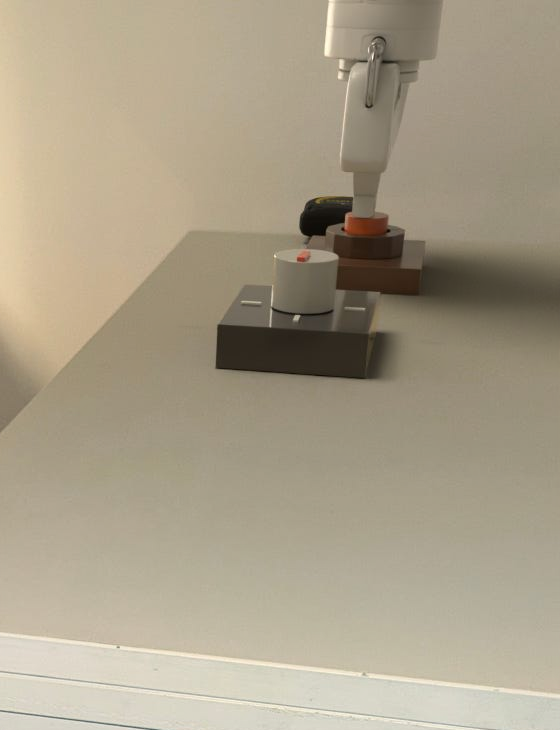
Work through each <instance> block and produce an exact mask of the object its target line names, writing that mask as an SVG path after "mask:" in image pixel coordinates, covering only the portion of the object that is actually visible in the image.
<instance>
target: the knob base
mask: <svg viewBox="0 0 560 730" xmlns="http://www.w3.org/2000/svg"><path fill="white" fill-rule="evenodd" d="M271 296H272V285H262V284H261V285H260V284H244V285H243V286H242V288H240V291H239V292H238V294H237V295H236V297H234V299H233V301H232V302H231V304H230V305H229V307H228V308H227V310H226V311H225V313H224V314H223V315H222V317H221V319H220V320H219V321H218V323H217V325H216V346H215V368H216V369H229V370H240V371H241V370H243V371H254V372H255V371H256V372H257V371H258V372H269V373H270V372H272V373H283V374H284V373H285V374H286V373H287V374H297V375H298V374H299V375H313V376H327V377H339V378H341V377H342V378H355V379H356V378H357V379H366V375H367V371H368V367H369V363H370V359H371V355H372V351H373V348H374V343H375V339H376V336H377V331H378V322H379V313H380V312H379V311H380V304H381V303H380V302H381V294H380V292H369V291H352V290H336V297H335V307H334V309H333V310H331V311H328V312H324V313H318V314H295V313H288V312H283V311H279V310H276V309H274V308H273V307H272V306H271Z"/></svg>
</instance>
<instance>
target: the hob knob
mask: <svg viewBox="0 0 560 730" xmlns="http://www.w3.org/2000/svg"><path fill="white" fill-rule="evenodd" d="M338 263H339V256H338V255H337V254H335V253H332V252H328V251H323V250H314V249H305V248H294V249H285V250H280V251H277V252H275V253H274V255H273V268H272V280H271V281H272V282H271V283H272V284H271V286H272V296H271V306H272V307H273V308H274V309H276V310H279V311H283V312H288V313H295V314H318V313H324V312H328V311H331V310H333V309H334V307H335V297H336V285H337V274H338Z"/></svg>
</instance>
